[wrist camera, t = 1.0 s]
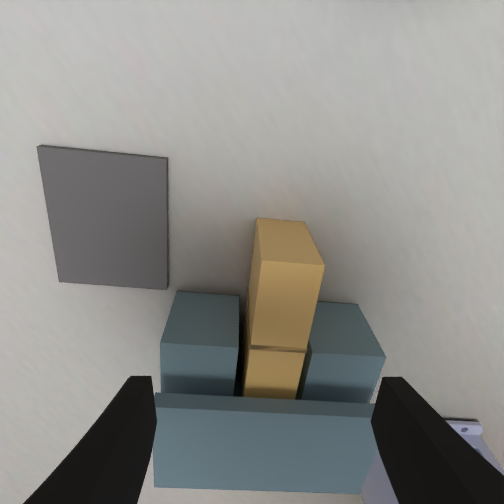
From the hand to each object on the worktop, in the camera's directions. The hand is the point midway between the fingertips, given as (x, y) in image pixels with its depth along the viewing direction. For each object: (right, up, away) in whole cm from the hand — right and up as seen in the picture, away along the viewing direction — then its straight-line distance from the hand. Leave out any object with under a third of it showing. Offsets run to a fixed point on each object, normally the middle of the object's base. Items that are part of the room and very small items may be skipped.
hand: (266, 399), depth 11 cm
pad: (-8, +6, +7) cm, 12 cm away
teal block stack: (0, -2, +11) cm, 12 cm away
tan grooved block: (+1, +2, +9) cm, 10 cm away
